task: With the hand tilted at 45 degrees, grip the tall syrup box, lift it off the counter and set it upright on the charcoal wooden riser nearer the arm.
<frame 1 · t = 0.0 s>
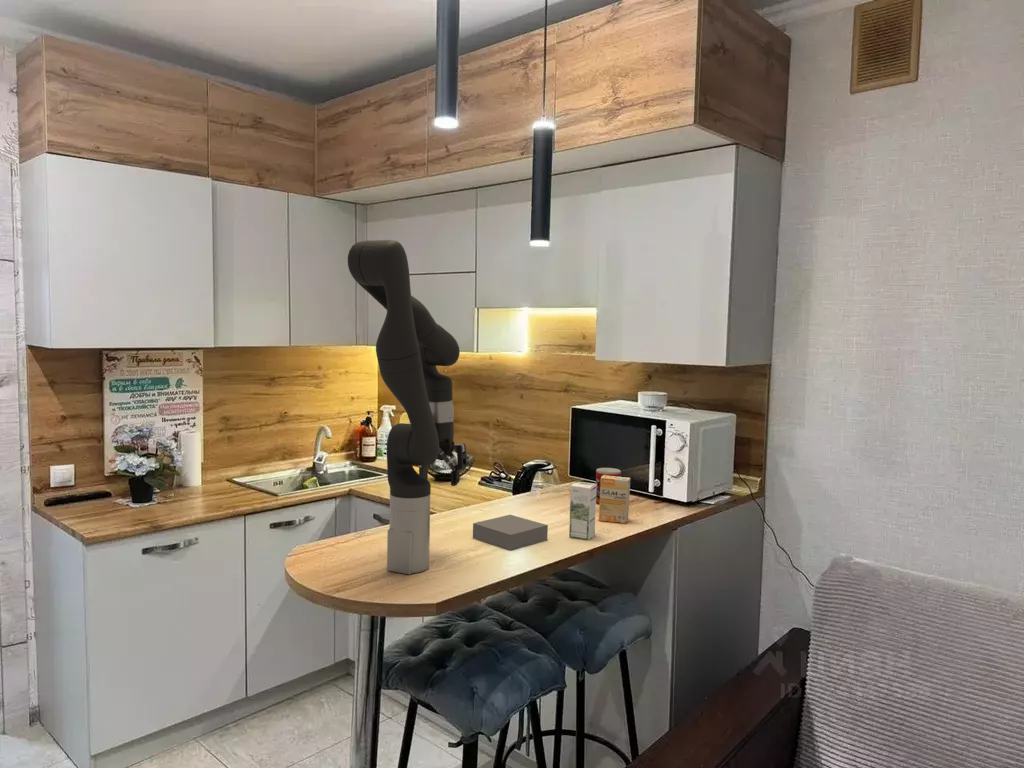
hand: (439, 483, 176), 17 cm above the countertop, tool pointing down, fingers open, 8 cm apart
supplement box: (613, 521, 211), on the countertop
syrup box: (581, 537, 194), on the countertop
riser: (510, 538, 189), on the countertop
canned food: (607, 503, 232), on the countertop
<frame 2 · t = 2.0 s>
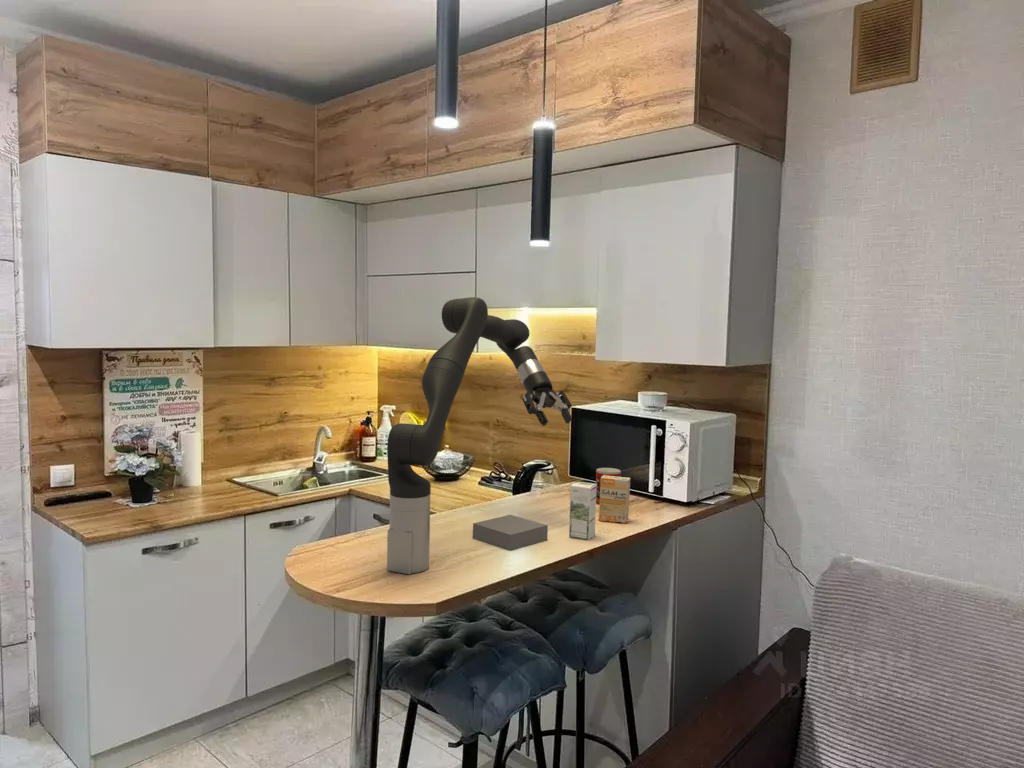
hand: (557, 422, 201), 30 cm above the countertop, tool tilted 45°, fingers open, 8 cm apart
nothing on the countertop moved.
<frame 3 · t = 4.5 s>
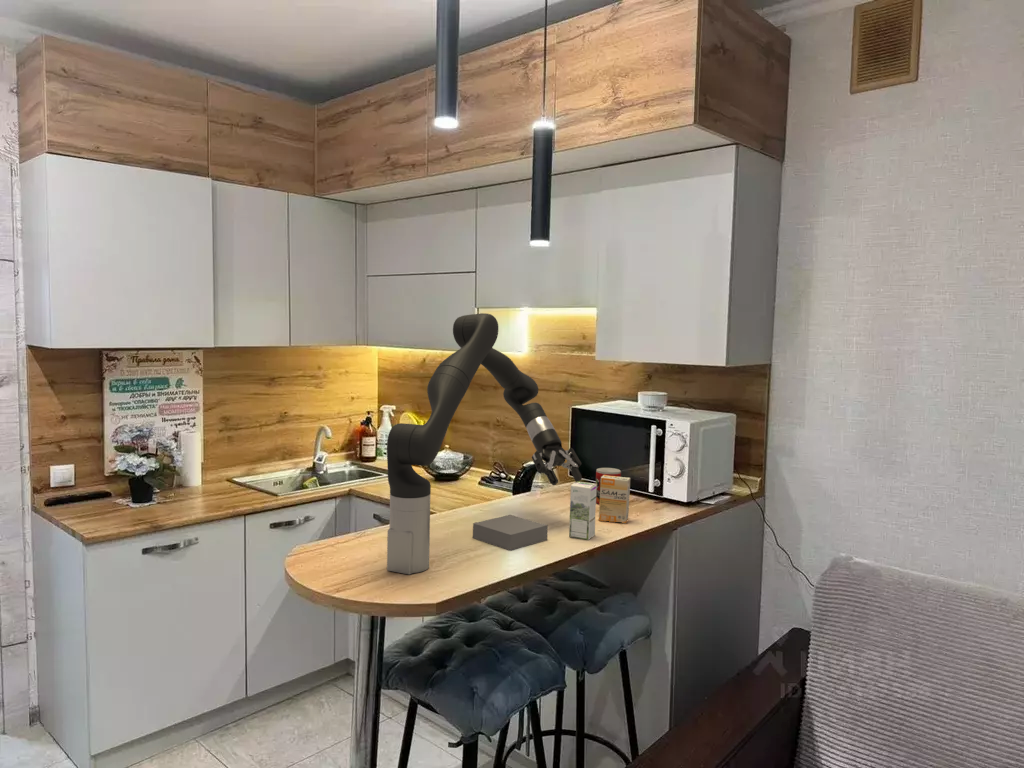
hand: (567, 482, 198), 14 cm above the countertop, tool tilted 45°, fingers open, 8 cm apart
nothing on the countertop moved.
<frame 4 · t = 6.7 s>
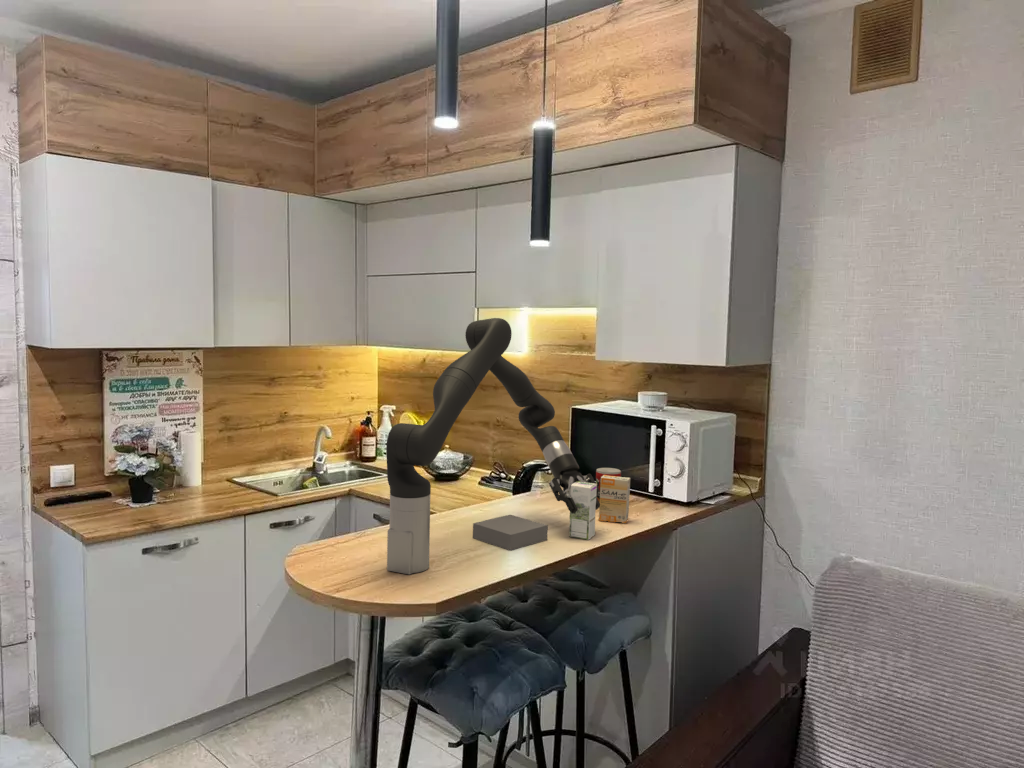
hand: (586, 510, 192), 8 cm above the countertop, tool tilted 45°, fingers closed on syrup box, 7 cm apart
syrup box: (581, 537, 194), on the countertop, touching gripper
everything else where it was.
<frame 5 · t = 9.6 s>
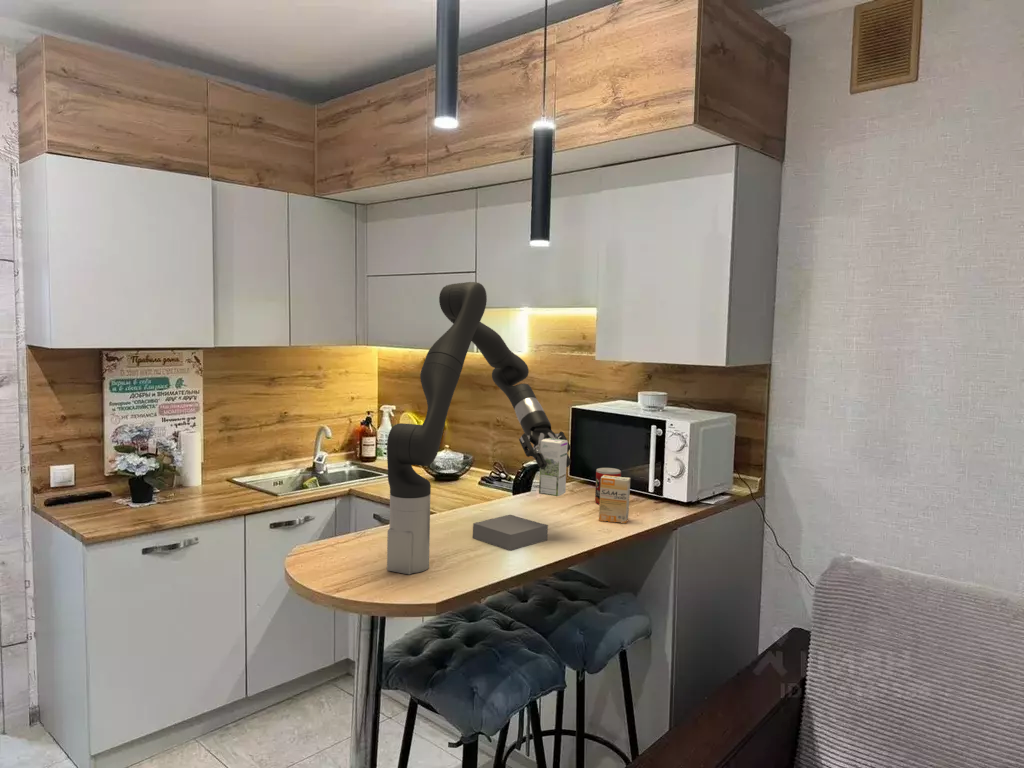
hand: (556, 466, 188), 20 cm above the countertop, tool tilted 45°, fingers closed on syrup box, 7 cm apart
syrup box: (552, 494, 190), point 12 cm above the countertop, touching gripper
everything else where it was.
when the fingers open (13 cm above the countertop, at t = 12.8 s): syrup box drops 1 cm, resting on riser.
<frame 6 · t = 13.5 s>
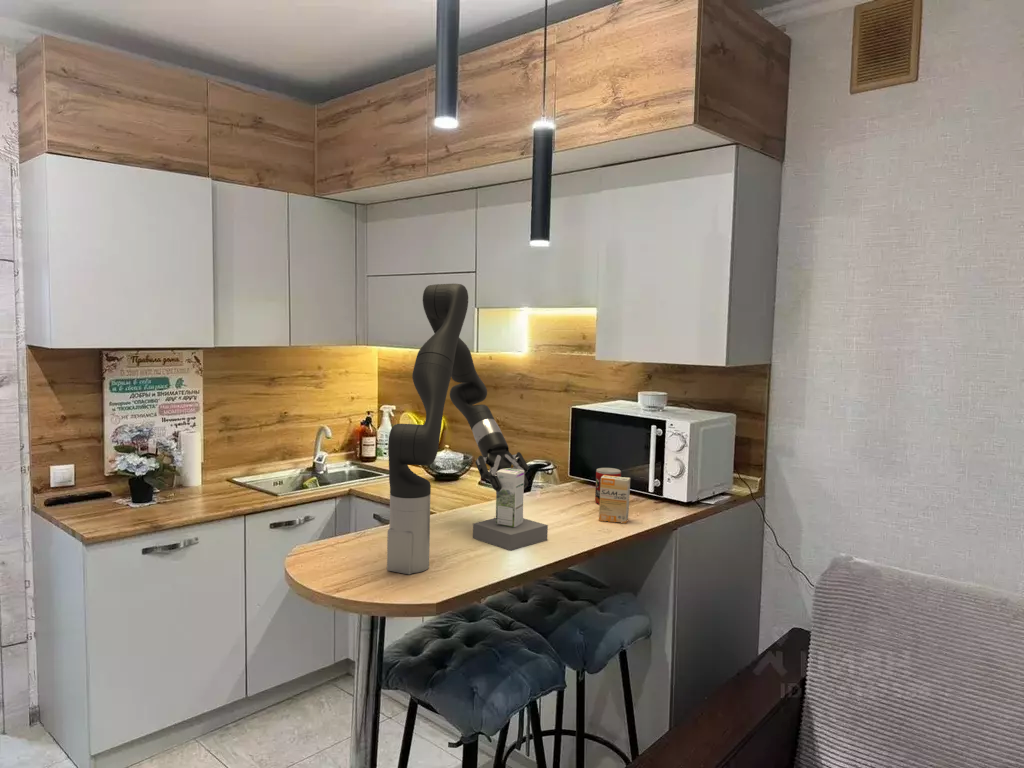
hand: (512, 488, 188), 14 cm above the countertop, tool tilted 45°, fingers open, 8 cm apart
syrup box: (509, 524, 189), point 4 cm above the countertop, touching riser
everything else where it was.
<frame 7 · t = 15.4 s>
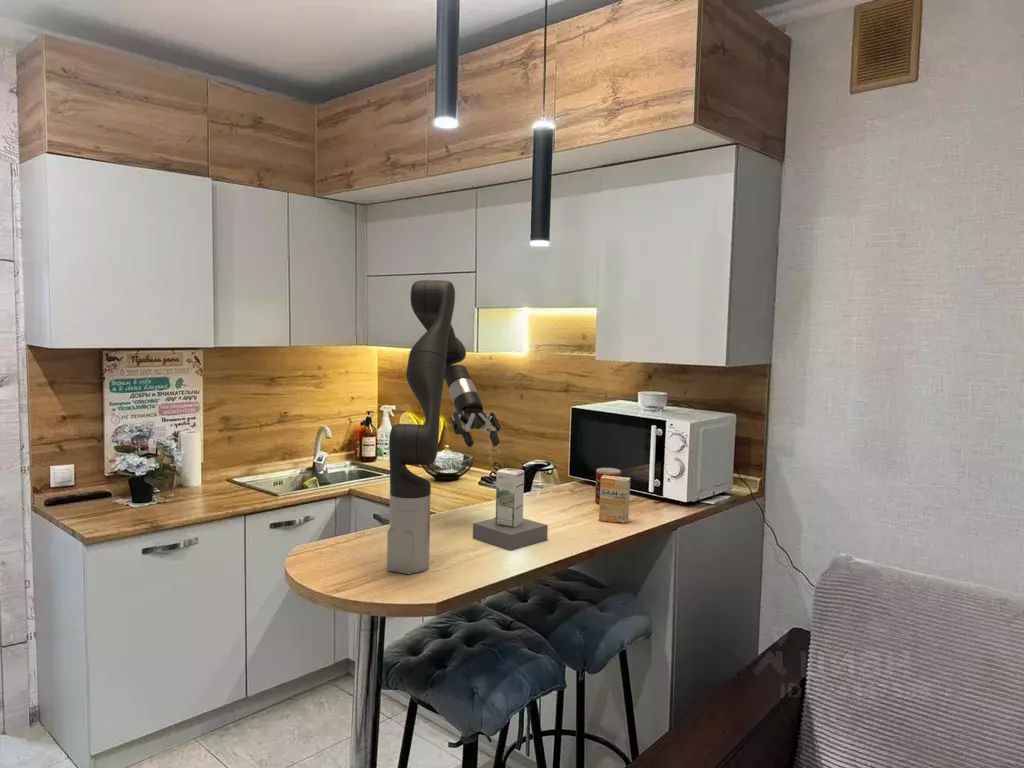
hand: (484, 445, 197), 23 cm above the countertop, tool tilted 40°, fingers open, 8 cm apart
nothing on the countertop moved.
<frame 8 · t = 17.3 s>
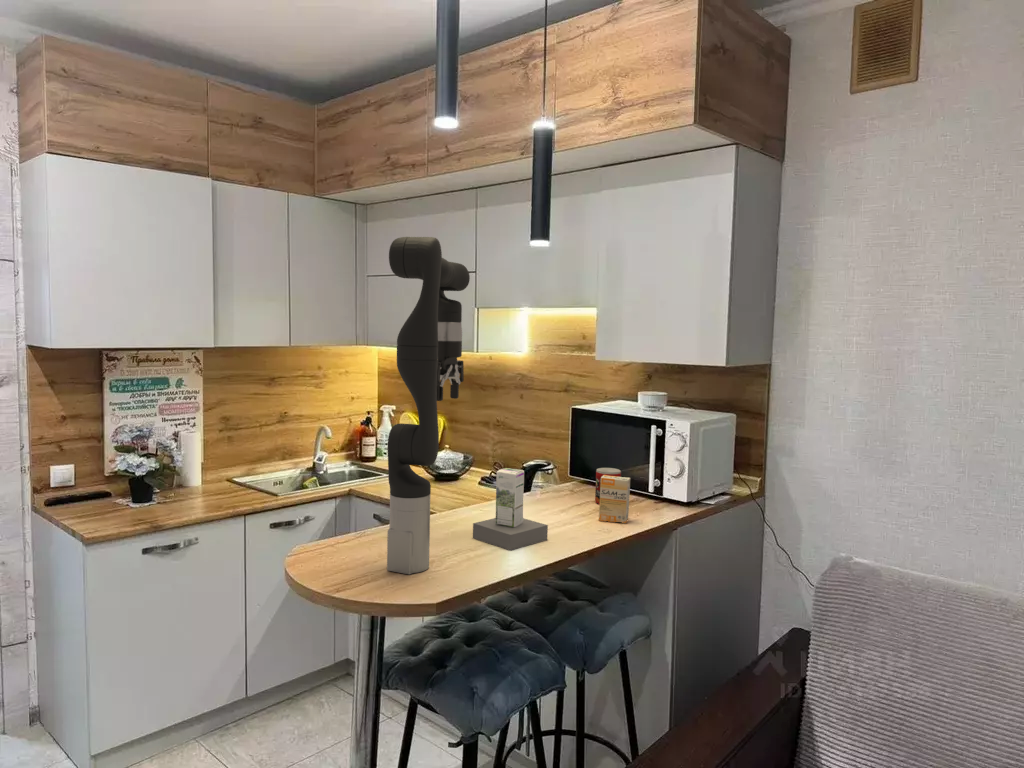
hand: (446, 399, 193), 36 cm above the countertop, tool pointing down, fingers open, 8 cm apart
nothing on the countertop moved.
at the end: syrup box inside the target area on the riser (0.3 cm from its centre), point 3.8 cm above the riser's base; syrup box tilted 0°; the gripper is holding nothing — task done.
